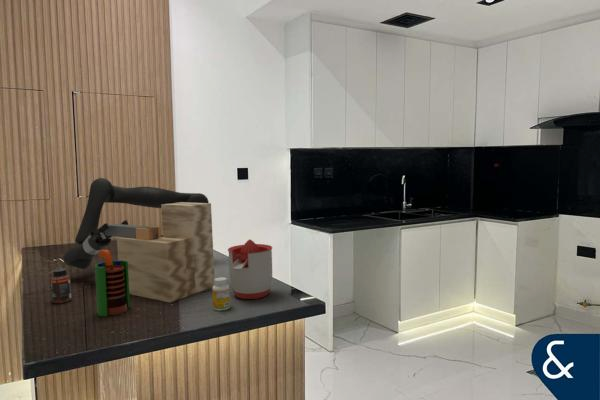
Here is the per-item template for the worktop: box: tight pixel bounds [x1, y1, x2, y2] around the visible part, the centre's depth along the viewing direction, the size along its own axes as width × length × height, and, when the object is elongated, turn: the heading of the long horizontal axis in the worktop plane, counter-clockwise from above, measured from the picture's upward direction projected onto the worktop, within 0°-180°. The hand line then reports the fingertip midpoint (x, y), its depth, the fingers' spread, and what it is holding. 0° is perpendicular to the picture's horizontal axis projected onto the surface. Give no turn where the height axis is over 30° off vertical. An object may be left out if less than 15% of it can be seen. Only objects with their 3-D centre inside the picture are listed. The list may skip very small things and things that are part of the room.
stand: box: [116, 202, 215, 303], centre depth 167 cm, size 22×27×32 cm
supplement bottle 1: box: [50, 268, 72, 304], centre depth 157 cm, size 6×6×11 cm
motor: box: [94, 249, 131, 318], centre depth 144 cm, size 10×9×20 cm
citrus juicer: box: [227, 239, 273, 300], centre depth 156 cm, size 16×17×20 cm
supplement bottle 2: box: [211, 276, 231, 312], centre depth 144 cm, size 5×5×10 cm
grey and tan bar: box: [105, 223, 162, 240], centre depth 166 cm, size 6×26×4 cm, turn 58°
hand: (117, 223), depth 170 cm, fingers open, 8 cm apart
